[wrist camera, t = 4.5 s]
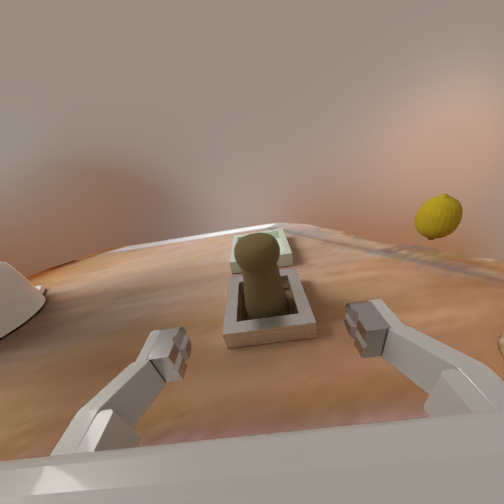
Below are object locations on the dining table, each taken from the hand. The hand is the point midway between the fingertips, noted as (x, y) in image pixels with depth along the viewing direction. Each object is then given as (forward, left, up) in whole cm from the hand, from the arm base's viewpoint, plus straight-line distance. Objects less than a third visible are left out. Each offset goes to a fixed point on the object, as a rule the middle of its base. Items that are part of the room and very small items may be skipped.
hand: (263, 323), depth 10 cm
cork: (0, +12, -12) cm, 17 cm away
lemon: (+30, +23, -12) cm, 40 cm away
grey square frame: (0, +12, -12) cm, 17 cm away
